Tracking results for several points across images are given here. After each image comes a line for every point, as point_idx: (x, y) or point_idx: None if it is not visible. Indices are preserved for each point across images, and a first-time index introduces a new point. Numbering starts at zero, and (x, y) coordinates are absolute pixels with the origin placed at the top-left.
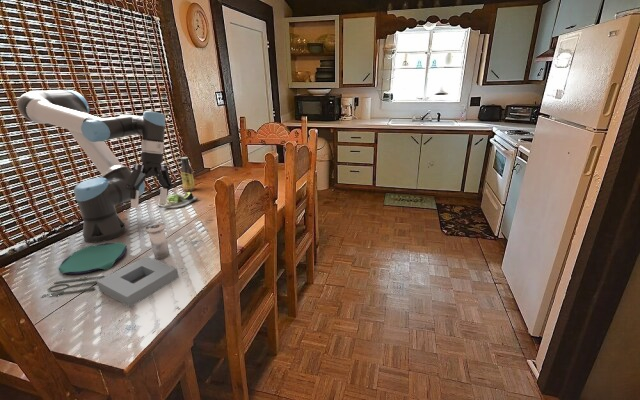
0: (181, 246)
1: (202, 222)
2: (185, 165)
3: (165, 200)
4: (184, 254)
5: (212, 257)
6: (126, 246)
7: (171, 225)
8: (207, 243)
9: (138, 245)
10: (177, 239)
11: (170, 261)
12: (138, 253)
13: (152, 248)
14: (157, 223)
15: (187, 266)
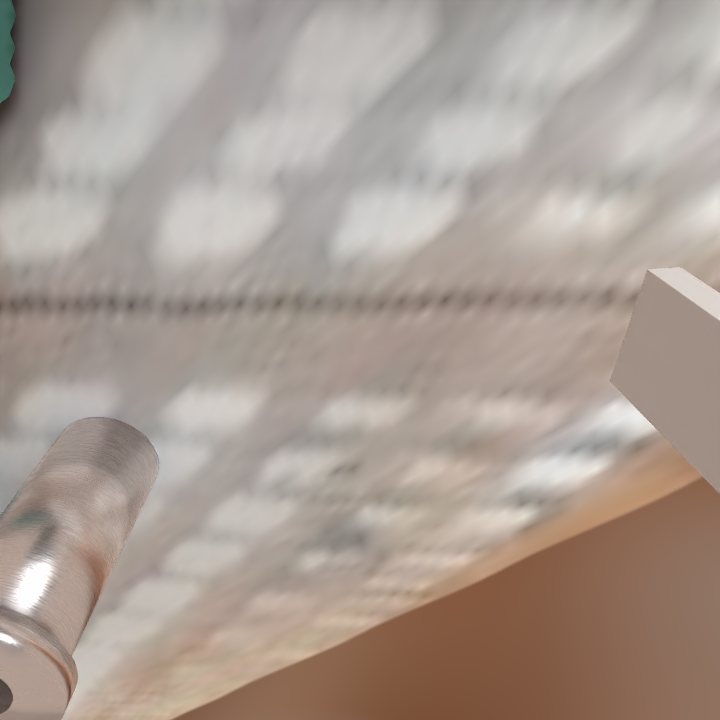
0: (263, 493)
1: None
2: None
3: (664, 427)
4: (187, 562)
5: (224, 685)
6: (13, 84)
7: (627, 138)
8: (353, 605)
9: (132, 140)
10: (348, 404)
11: None
12: (38, 265)
13: (21, 487)
14: (29, 669)
15: (97, 633)
